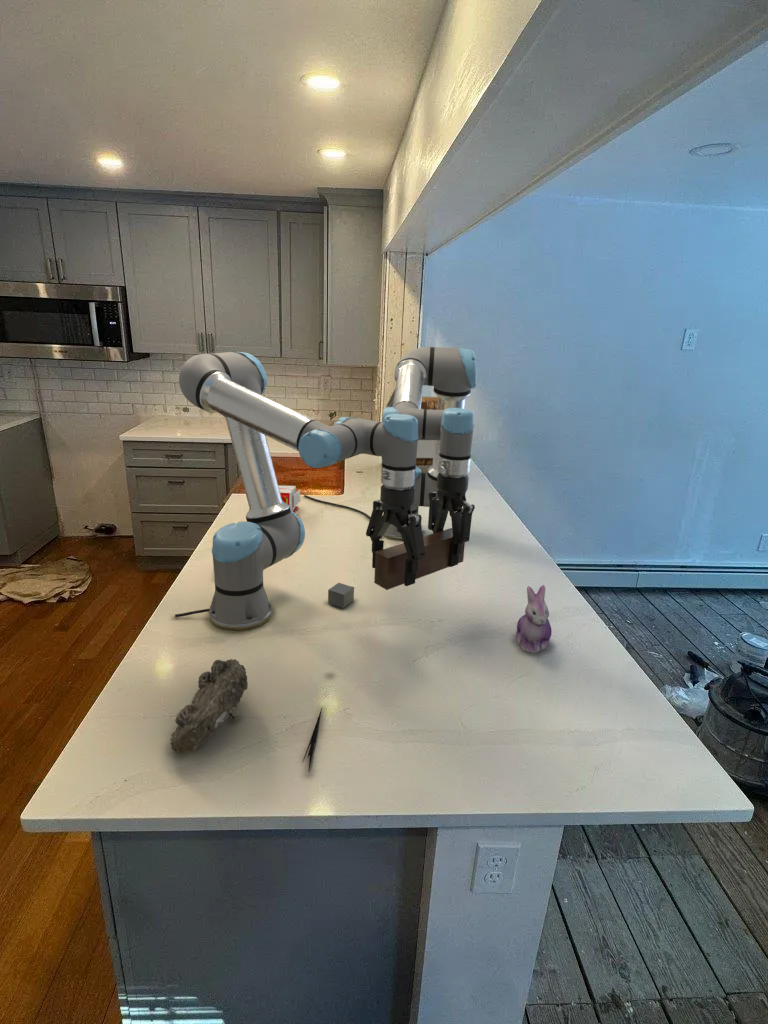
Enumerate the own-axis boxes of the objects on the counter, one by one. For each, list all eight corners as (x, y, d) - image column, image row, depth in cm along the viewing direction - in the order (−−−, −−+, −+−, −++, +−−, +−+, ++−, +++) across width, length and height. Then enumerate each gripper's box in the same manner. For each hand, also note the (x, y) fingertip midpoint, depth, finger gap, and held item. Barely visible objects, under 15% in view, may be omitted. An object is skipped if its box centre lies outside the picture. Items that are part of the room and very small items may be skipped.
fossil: (195, 660, 117) (247, 628, 112) (227, 691, 120) (279, 661, 115) (146, 746, 98) (206, 711, 93) (185, 779, 101) (245, 748, 96)
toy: (302, 480, 222) (292, 494, 192) (302, 514, 224) (292, 532, 195) (271, 480, 221) (256, 493, 192) (271, 513, 224) (256, 531, 195)
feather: (331, 679, 122) (336, 673, 122) (307, 777, 96) (313, 769, 95) (324, 675, 122) (329, 669, 121) (298, 772, 95) (304, 764, 95)
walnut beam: (374, 582, 133) (375, 551, 130) (450, 555, 149) (452, 527, 146) (386, 590, 130) (388, 558, 127) (463, 561, 146) (465, 532, 143)
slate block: (327, 603, 151) (328, 589, 150) (338, 595, 156) (338, 582, 154) (343, 608, 149) (343, 594, 148) (353, 600, 153) (354, 587, 152)
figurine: (532, 659, 131) (541, 601, 125) (504, 636, 139) (511, 581, 134) (562, 649, 135) (572, 593, 130) (533, 628, 143) (541, 575, 138)
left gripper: (352, 475, 131) (350, 561, 139) (422, 502, 115) (415, 599, 122) (377, 470, 136) (373, 554, 143) (447, 496, 120) (439, 589, 127)
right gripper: (416, 467, 140) (411, 553, 148) (470, 485, 128) (461, 578, 136) (438, 463, 145) (431, 547, 153) (491, 480, 133) (481, 570, 141)
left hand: (393, 575), depth 133 cm, fingers open, 11 cm apart
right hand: (445, 561), depth 145 cm, fingers closed on walnut beam, 4 cm apart
